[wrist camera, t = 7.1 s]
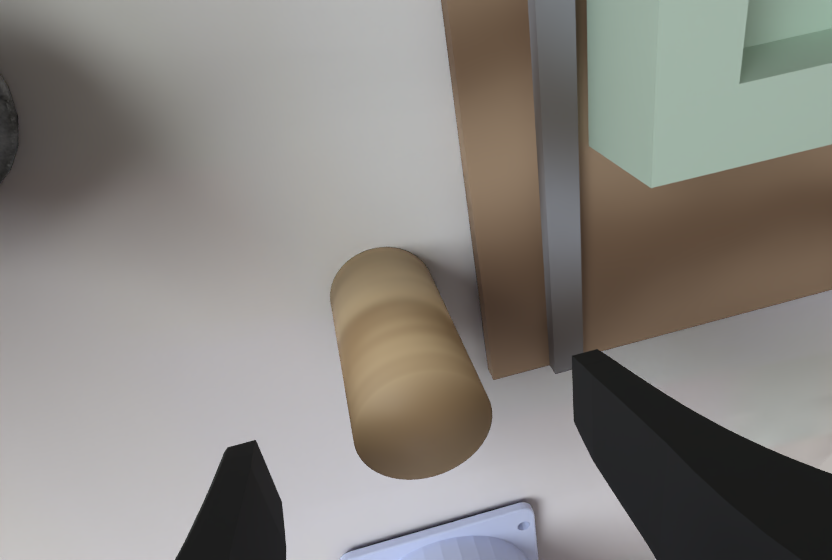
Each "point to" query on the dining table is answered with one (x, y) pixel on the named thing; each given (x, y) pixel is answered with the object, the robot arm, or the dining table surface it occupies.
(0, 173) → the salt shaker
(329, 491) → the dining table surface
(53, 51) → the dining table surface
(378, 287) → the oak dowel
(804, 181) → the walnut board
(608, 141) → the sage socket block
